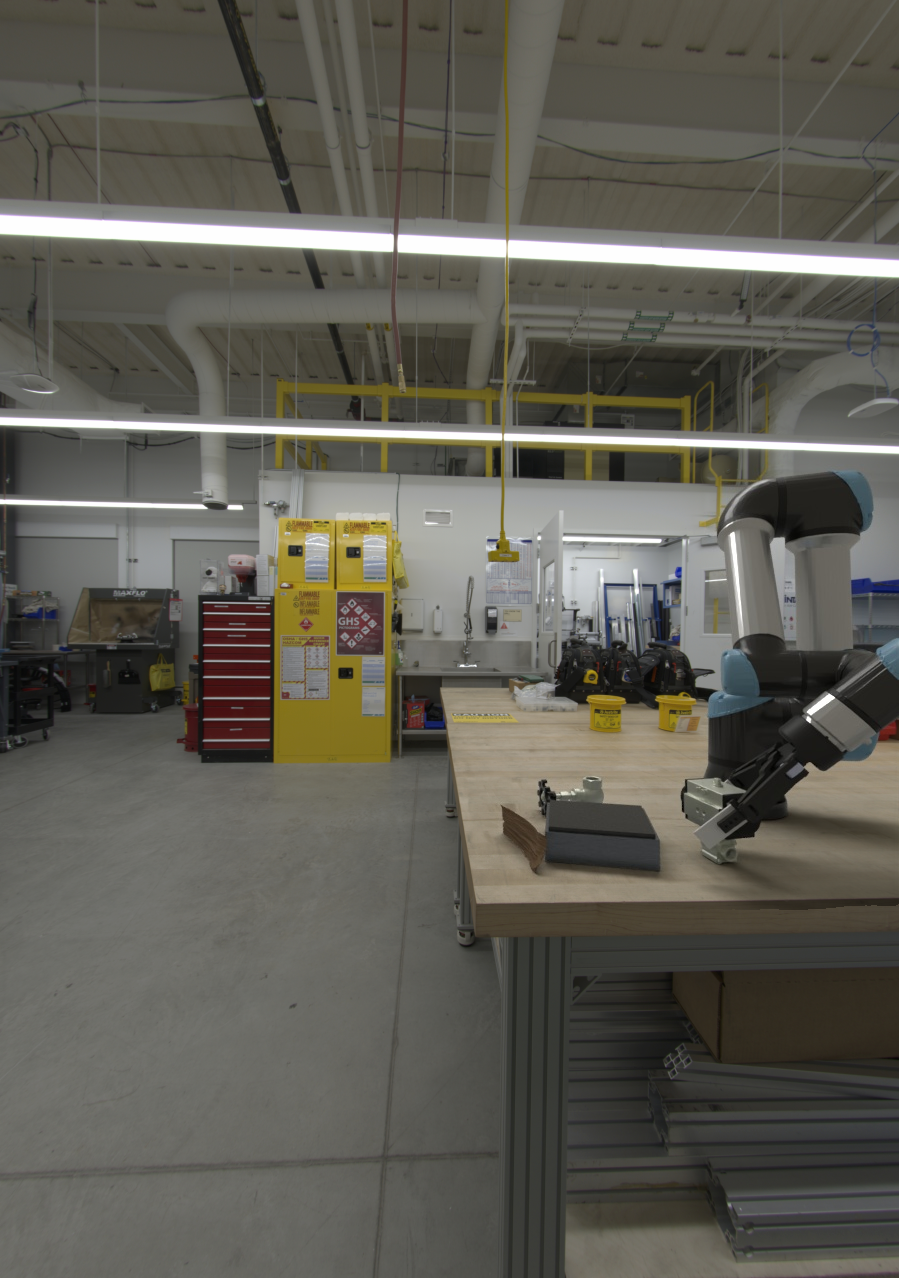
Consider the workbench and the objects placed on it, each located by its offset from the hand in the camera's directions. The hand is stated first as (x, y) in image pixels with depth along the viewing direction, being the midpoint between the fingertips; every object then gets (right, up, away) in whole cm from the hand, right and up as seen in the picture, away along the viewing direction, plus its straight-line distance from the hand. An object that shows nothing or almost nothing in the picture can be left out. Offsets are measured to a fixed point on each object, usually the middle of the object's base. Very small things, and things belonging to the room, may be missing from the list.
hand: (701, 825), depth 77 cm
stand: (-15, -5, +4) cm, 16 cm away
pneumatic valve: (+2, -5, -1) cm, 5 cm away
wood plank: (-27, -5, +2) cm, 28 cm away
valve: (-15, -5, +20) cm, 25 cm away
